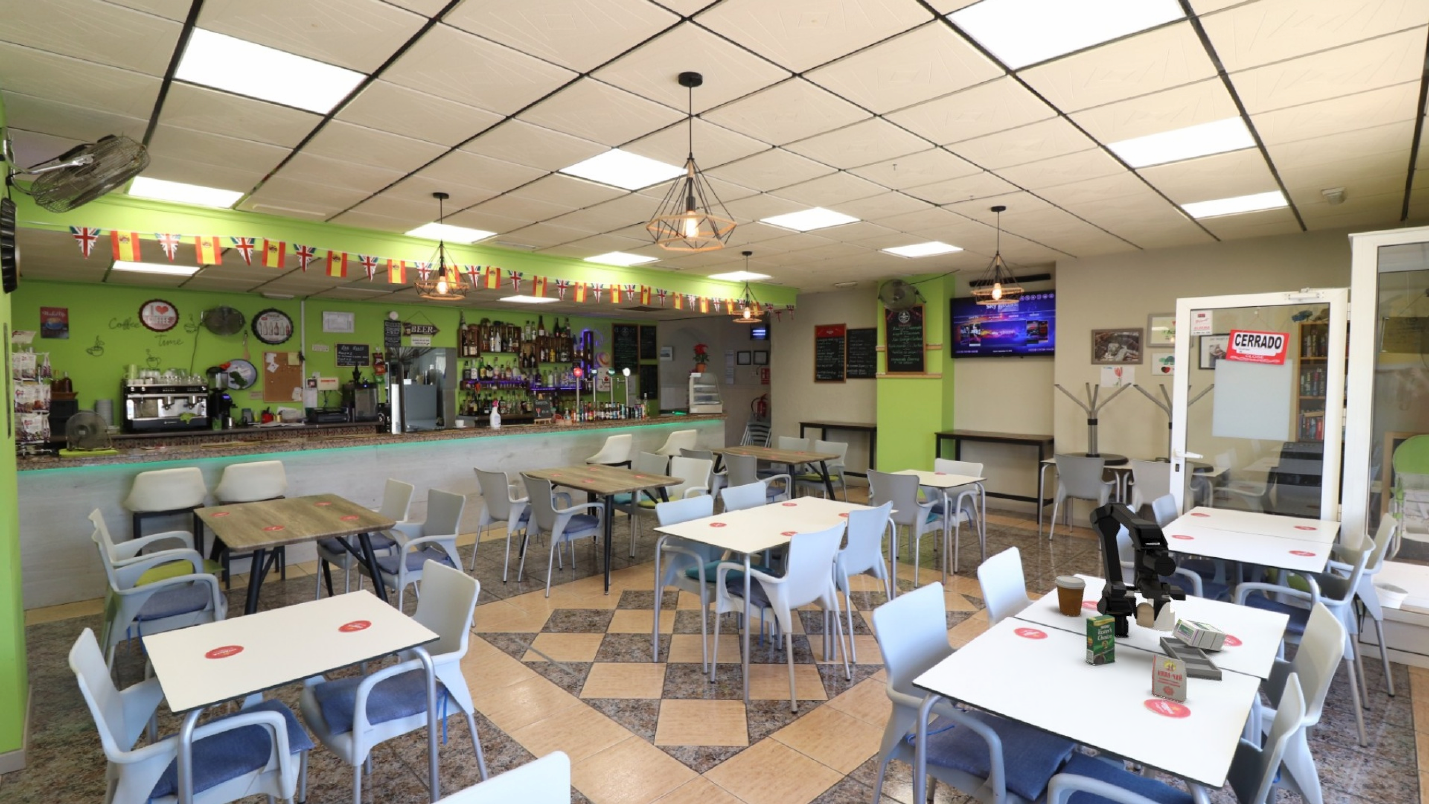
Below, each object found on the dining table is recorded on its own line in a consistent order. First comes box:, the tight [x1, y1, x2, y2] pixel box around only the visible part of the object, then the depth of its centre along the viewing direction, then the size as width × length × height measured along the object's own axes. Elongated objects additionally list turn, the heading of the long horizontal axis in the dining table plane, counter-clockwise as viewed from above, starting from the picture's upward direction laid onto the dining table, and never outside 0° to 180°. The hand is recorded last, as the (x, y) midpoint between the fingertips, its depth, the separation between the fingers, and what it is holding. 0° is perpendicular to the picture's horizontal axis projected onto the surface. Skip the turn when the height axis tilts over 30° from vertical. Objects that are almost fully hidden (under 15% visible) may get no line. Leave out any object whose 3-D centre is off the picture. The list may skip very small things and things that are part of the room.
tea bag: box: [1151, 653, 1188, 703], centre depth 172 cm, size 4×7×10 cm, turn 45°
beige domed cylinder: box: [1135, 601, 1154, 629], centre depth 196 cm, size 4×4×7 cm
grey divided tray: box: [1159, 635, 1223, 681], centre depth 193 cm, size 8×23×2 cm, turn 161°
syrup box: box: [1171, 618, 1228, 652], centre depth 200 cm, size 6×6×14 cm
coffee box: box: [1085, 614, 1116, 665], centre depth 193 cm, size 8×3×13 cm, turn 107°
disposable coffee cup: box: [1054, 575, 1087, 617], centre depth 233 cm, size 10×10×12 cm
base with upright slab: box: [1146, 597, 1176, 632], centre depth 221 cm, size 9×9×12 cm
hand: (1145, 619), depth 197 cm, fingers closed on beige domed cylinder, 4 cm apart
